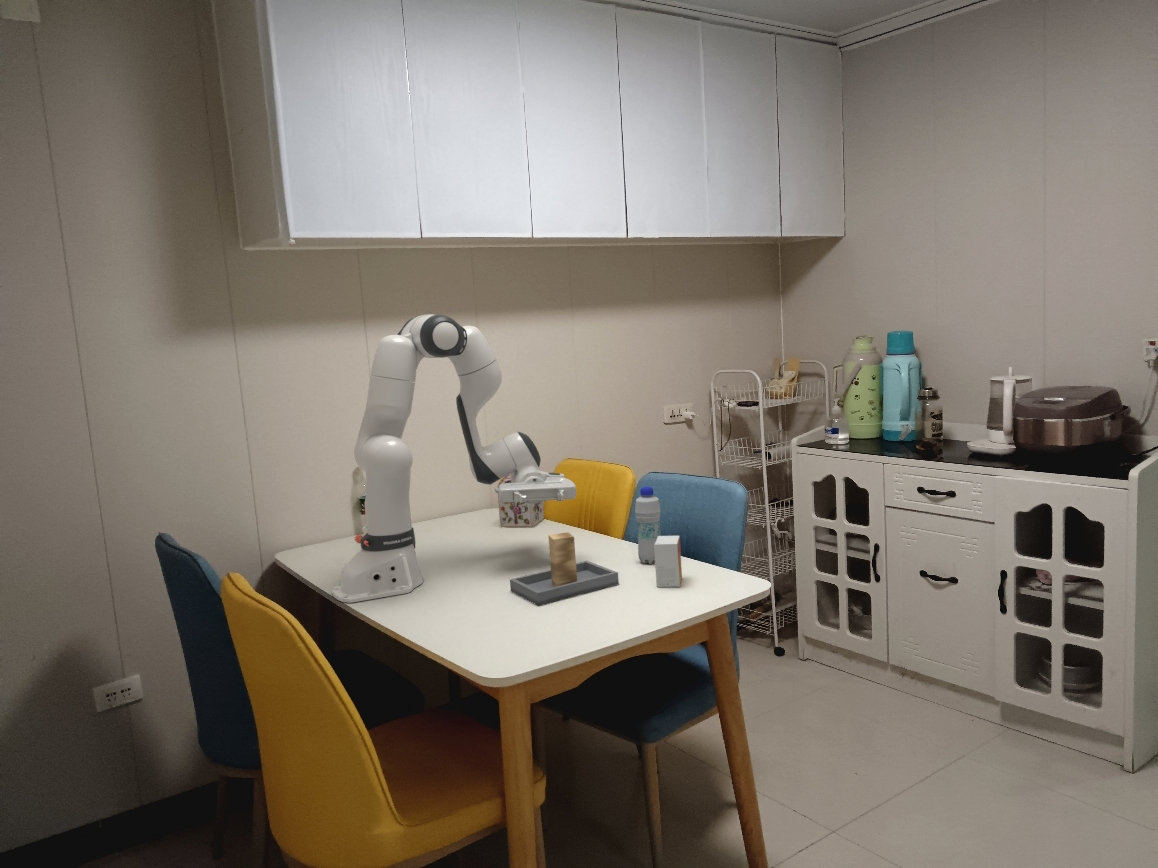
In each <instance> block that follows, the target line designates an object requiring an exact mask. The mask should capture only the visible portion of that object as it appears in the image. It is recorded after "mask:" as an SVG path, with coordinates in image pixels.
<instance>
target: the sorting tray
mask: <svg viewBox="0 0 1158 868" xmlns="http://www.w3.org/2000/svg"><path fill="white" fill-rule="evenodd" d="M576 571H577V582H573V583H569V584H565V585H561V586H557V587H555V586H554V585H553V584H552V576H551V568H550V569H547V570H543V571H538V572H534V573H530V574H525V575H522V576H518V577H517V576H516V577H514V578H513V577H512V578H510V579H509V584H510V585H509V586H510V592H511V591H512V593H513V592H514V593H513V594H515V593H516V594H515V595H517V594H518V595H517V596H519V597H520V598H523V599H525V600H526V599H527V600H526V601H528V600H529V601H528V602H530V601H531V603H532V602H533V603H532V604H534V603H535V605H537V606H538V607H540V606H544V605H547V603H548V604H550V602H551V603H554V602H559V601H564V600H566V599H570V598H574V597H577V596H581V595H584V594H588V593H593V592H596V591H599V590H603V589H604V590H605V589H607V588H611V587H615V586H619V572H618V571H615V570H612V569H610V568H608V567H605V566H602V565H599V564H597V563H594V562H593V561H589V560H585V561H579V562H576ZM543 604H544V605H543ZM539 605H540V606H539Z"/></svg>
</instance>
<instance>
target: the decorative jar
mask: <svg viewBox="0 0 1158 868" xmlns="http://www.w3.org/2000/svg"><path fill="white" fill-rule="evenodd" d="M504 483H511V479H510V474H509V475H506V476H504V477H502V478H500V479H499V483H498V485H497V487H496V488H499V485H500V484H504ZM497 502H498V516H499V525H500V527H501V528H502V527H506V528H534V527H535V526H537V525H538V524H540V523H541V522H542V521H543V520H545V512H544V501H542V502H539V503H536V504H529V503H520V502H506V503H503V502H500V501H499V493H497ZM539 522H540V523H539Z"/></svg>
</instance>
